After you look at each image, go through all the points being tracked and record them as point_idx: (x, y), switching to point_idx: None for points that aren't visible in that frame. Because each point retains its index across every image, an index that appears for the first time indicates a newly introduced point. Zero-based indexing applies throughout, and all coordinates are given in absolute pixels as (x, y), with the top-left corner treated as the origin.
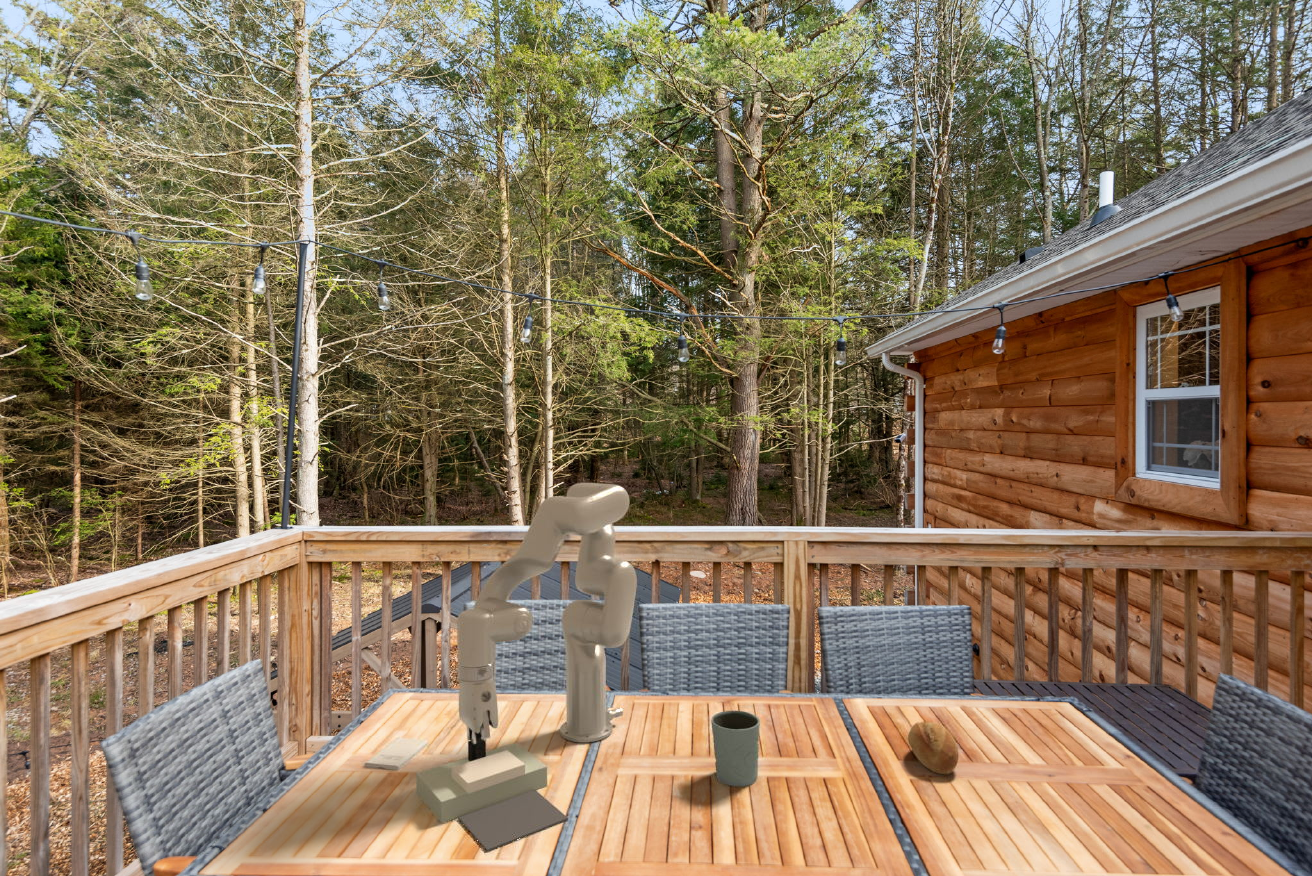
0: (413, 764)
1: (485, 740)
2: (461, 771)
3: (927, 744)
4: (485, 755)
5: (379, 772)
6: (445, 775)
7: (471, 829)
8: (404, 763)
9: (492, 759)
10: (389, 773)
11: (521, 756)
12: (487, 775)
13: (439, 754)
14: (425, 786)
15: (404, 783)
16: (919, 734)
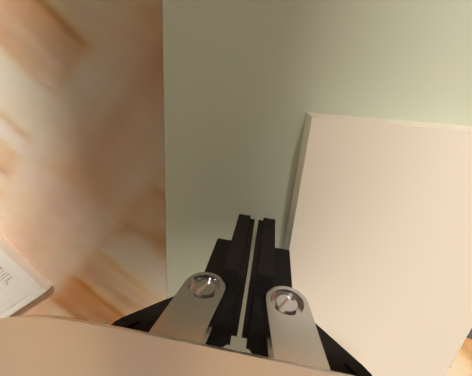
0: (39, 251)
1: (303, 303)
2: None
3: None
4: (274, 226)
5: (44, 312)
6: (241, 326)
7: (470, 335)
8: (29, 268)
9: (343, 230)
10: (59, 303)
11: (337, 28)
12: (459, 323)
13: (9, 178)
14: None
15: (125, 306)
16: None
